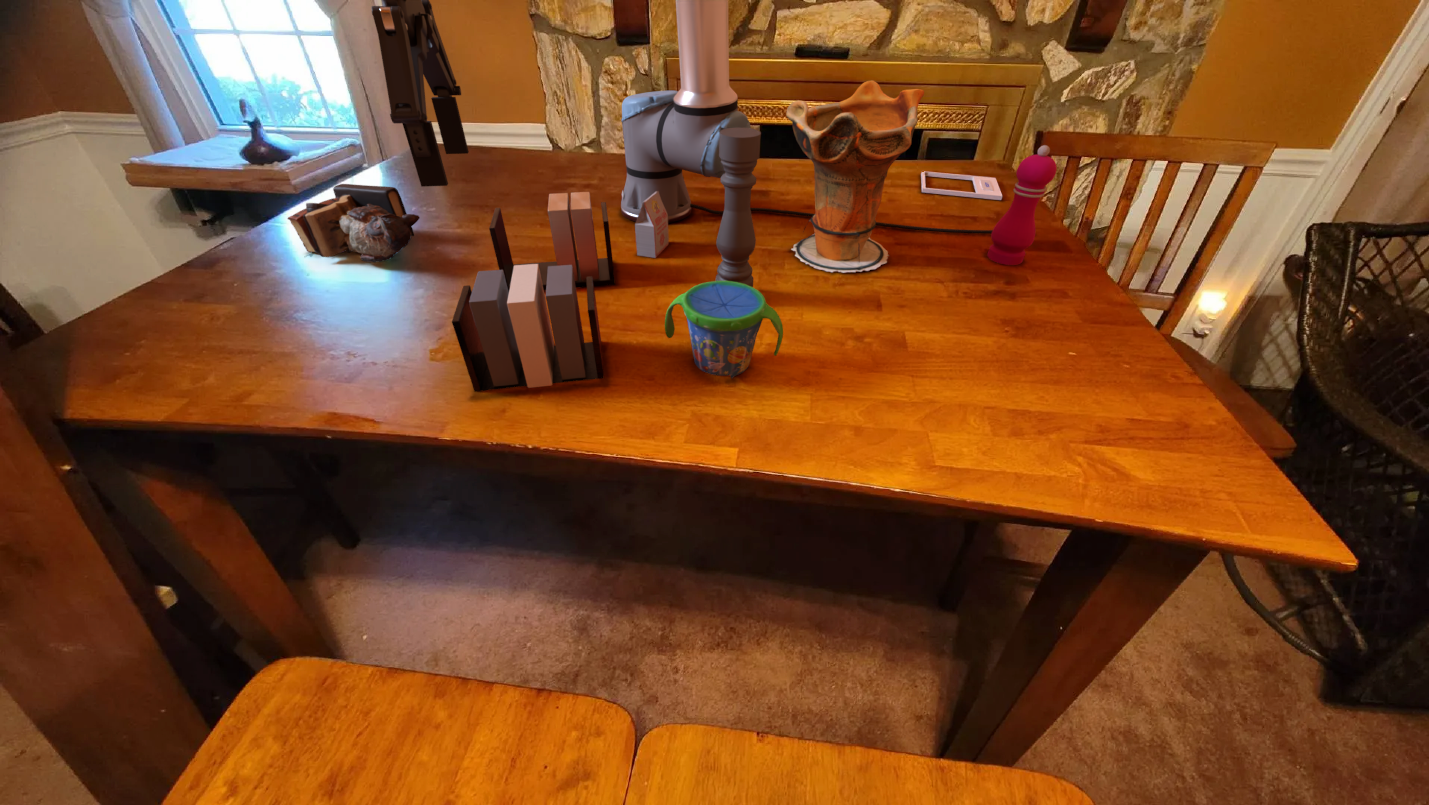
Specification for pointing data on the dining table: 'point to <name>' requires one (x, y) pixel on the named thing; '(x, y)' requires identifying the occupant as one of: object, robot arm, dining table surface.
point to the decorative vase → (851, 171)
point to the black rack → (564, 241)
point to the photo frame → (982, 185)
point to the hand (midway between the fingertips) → (447, 168)
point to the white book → (531, 325)
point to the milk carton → (652, 227)
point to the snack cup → (723, 324)
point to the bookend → (356, 223)
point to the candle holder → (737, 203)
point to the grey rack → (481, 374)
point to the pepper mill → (1022, 209)
